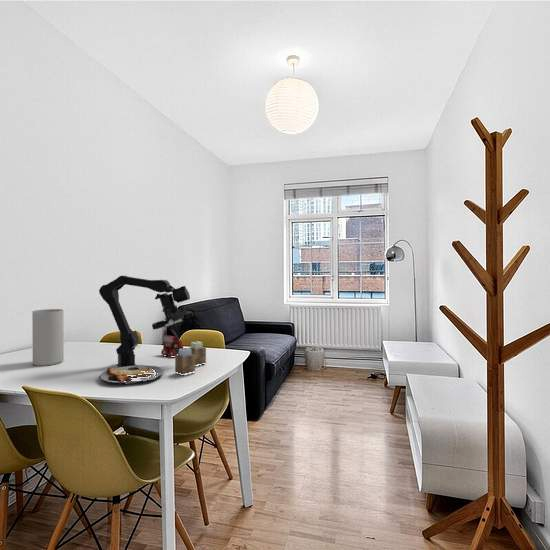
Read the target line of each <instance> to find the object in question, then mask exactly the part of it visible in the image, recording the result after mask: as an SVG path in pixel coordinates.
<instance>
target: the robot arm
mask: <svg viewBox="0 0 550 550" xmlns="http://www.w3.org/2000/svg"><path fill="white" fill-rule="evenodd" d="M125 285H126V286H133V287H140V288H145V289H146V288H147V289H149V290H151V291H153V292H157V293H156V296H155V298H154V299H155V300H158V299H159V300H160V304H161V307H162V310H161V311H162V313H163V314H164V317H165V318H164V320H159V321H156V322H152V325H151V327H152V329H153V330H154V331H155V330H158V329H161V328H168V330H170V331H171V332H172V334H173V336H174V337H177V338H179V339H180V337H181V327H182V326H181V325H182V324H183V322H184V320H185V319H189V318H193V317H194V313H193V312H192V311H191V310H187V308H186V307H185V306H182V307H180V308H178V306H177V305H176V304H175V302H176V303H177V304H179V303H182V302H186V301H189V300H190V299H191V297H190V296H191V295H190V292H189V290H188V288H186V285H184V286H180V287H177V288H175V287H174V286H172V285H171V282H169V280H168V279H147V278H140V277H133V276H127V275H119V276H118V277H117V278H116V279H114V280H112V281H110V282H108V283H107V284H103V285H101V287H100V288H99V289H98V291H99V292H98V293H99V296H101V298H102V299H103V301H104V302H105V303H106V304H107V305H108V307H109V310H110V312H111V314H112V316H113V319H114V322H115V323H116V326H117V328H118V331H119V341H120V345H118V347H117V348H116V349H115V350H116V351H115V352H116V354H117V363H116V366H118V367H126V366H128V367H129V366H131V365H132V366H133V365H135V364H136V363H135V362H136V355H135V349H136V347H137V346H138V344H139V343H140V336H139V335H138V332H137V330H134V331H133V330H132V329H131V328H130V325H129V323H128V320H127V318H126V315H125V313H124V311H123V308H122V305H121V303H120V301H119V300H120V296H119V295H120V294H119V293H120V292H119V291H120V290H121V289H122V288H123V287H124V286H125Z"/></svg>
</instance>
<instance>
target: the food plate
mask: <svg viewBox="0 0 550 550" xmlns="http://www.w3.org/2000/svg"><path fill="white" fill-rule="evenodd" d="M152 369H153V370H155V372H156V375H155V376H156V377H155V376H154V377H153V375H152V374H144V372H141V371H145V372H146V373H154V372H153V370H152ZM147 371H148V372H147ZM164 372H165V369H164V368H162V367H160V366H157V365H146V364H136V365H132V366H126V367H120V366H118V367H115V368H114V367H108V368H107V370H106V371H103V372H102V373H101V374H99V375H98V379H99V380H101V381H102V382H106V383H112V384H115V383H118V384H122V383H132V384H138V383H142V382H141V381H143V382H148V381H151V380H156V378H158V377H160V376H161V375H162V374H164ZM157 373H158V374H157ZM138 374H142V375H138ZM127 375H136V376H133V377H131V376H127ZM146 375H147V376H146ZM150 375H151V378H150V379H144V380H141V381H131V380H132V379H131V378H137V377H148V376H150ZM147 380H148V381H147ZM124 381H126V382H124ZM137 382H138V383H137Z"/></svg>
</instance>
